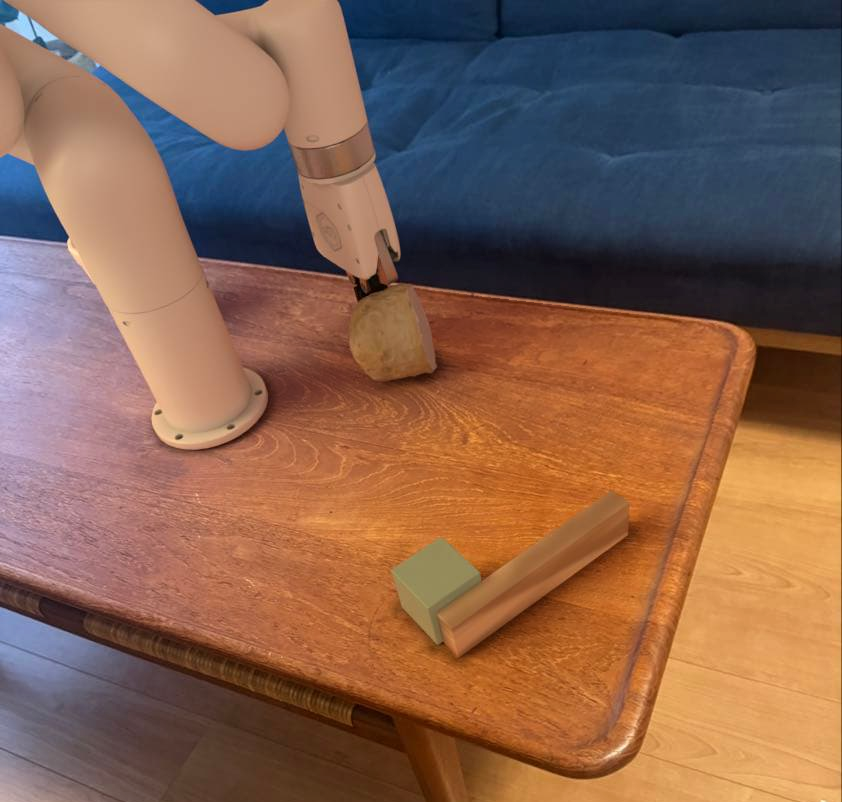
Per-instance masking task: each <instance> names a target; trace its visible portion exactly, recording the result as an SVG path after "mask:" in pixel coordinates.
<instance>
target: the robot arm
mask: <svg viewBox="0 0 842 802" xmlns="http://www.w3.org/2000/svg"><path fill="white" fill-rule="evenodd" d="M3 1H4V2H5V3H6V4H8V5H9V6H11V7H13V8H14V9H15V10H17V11H18V12H20V13H21V14H23V15H25V16H26V17H27V18H29V19H31V20H32V21H34V22H35V23H36V24H38V25H39V26H40V27H41V28H43V29H44V30H46V31H47V32H48V33H50V34H51V35H53V36H54V37H55V38H56V39H58V40H60V41H61V42H63V43H64V44H66V45H68V46H69V47H71V48H73V49H74V50H76V51H77V52H79V53H80V54H82V55H84V56H86V57H87V58H88V59H90V60H92V61H93V62H94V63H96V64H98V65H99V66H100V67H102V68H103V69H105V70H106V71H107V72H109V73H111V74H112V75H113V76H115V77H116V78H118V79H119V80H120V81H122V82H123V83H125V84H126V85H128V86H129V87H131V88H132V89H134V90H135V91H136V92H137V93H139V94H141V96H144V97H145V98H147V99H148V100H149V101H151V102H153V104H155V105H157V106H159V107H160V108H162V109H163V110H165V111H167V112H168V113H169V114H171V115H173V116H175V117H176V118H177V119H179V120H180V121H182V122H184V123H186V124H187V125H188V126H190V127H191V128H193V129H195V130H196V131H198V133H201V134H202V135H204V136H206V137H207V138H209V139H211V141H214V142H216V143H217V144H220V145H221V146H223V147H226V148H229V149H232V150H237V151H255V150H258V149H259V150H260V149H261V148H264V147H266V146H268V145H269V144H271V143H272V142H273V141H275V139H277V138H278V137H279V136H280V134H281V132H282V131H283V130H284V133H285V136H286V139H287V143H288V146H289V149H290V152H291V156H292V159H293V162H294V165H295V169H296V171H297V174H298V175H297V176H298V182H299V188H300V192H301V198H302V201H303V206H304V210H305V215H306V217H307V221H308V224H309V228H310V232H311V237H312V238H313V239H312V240H313V242H314V245H315V248H316V250H317V251H318V253H319V254H320V255H321V256H322V257H324V258H326V259H327V260H329V261H330V262H331V263H333V264H335V265H336V266H338V267H339V268H341V269H343V270H344V271H345V273H346V275H347V278H348V281H349V282H350V283H351V285H352V286H353V288H352V289H353V291H354V295H355V298H356V301H357V303H358V302H359V301H360V300H362V299H363V298H364V297H367V296H369V295H370V294H372V293H375V292H380V291H383V290H385V289H387V288H389V286H391V284H393V283H395V282H397V281H398V280H399V276H398V273H397V270H396V267H395V265H394V262H397V263H398V262H399V261H400V259H401V246H400V239H399V236H398V231H397V228H396V224H395V219H394V216H393V213H392V210H391V206H390V202H389V200H388V196H387V193H386V191H385V187H384V184H383V182H382V181H383V180H382V178H381V176H380V173H379V170H378V168H377V165H376V163H375V160H376V157H377V155H376V150H375V146H374V142H373V137H372V133H371V129H370V124H369V120H368V116H367V111H366V107H365V103H364V99H363V94H362V91H361V90H362V89H361V86H360V82H359V81H360V80H359V78H358V77H359V76H358V73H357V68H356V65H355V59H354V56H353V52H352V47H351V44H350V39H349V34H348V31H347V27H346V22H345V18H344V15H343V10H342V7H341V5H340V3H339V0H267V1H265V2H264V3H263V4H262V5H260V6H256V7H252V8H248V9H243V10H239V11H234V12H227V13H223V14H216V15H215V14H214V13H213V12H211V11H210V10H209V9H207V7H205V6H204V5H202V4H201V3H200V2H199V1H197V0H3ZM7 154H8V155H10V156H12V157H14V158H17V159H18V160H21V161H23V162H26V163H28V164H29V165H32V166H34V167H35V170H36V172H37V176H38V178H39V180H40V183H41V185H42V187H43V190H44V192H45V193H46V197H47V199H48V201H49V203H50V205H51V206H52V209H53V211H54V213H55V214H56V217H57V218H58V220H59V222H60V224H61V226H62V227H63V229H64V231H65V232H66V234H67V236H68V238H69V237H70V239H71V241H72V243H73V245H74V246H75V248H76V250H77V252H78V254H79V255H80V257H81V259H82V261H83V263H84V265H85V266H86V268H87V270H88V272H89V274H90V276H91V278H92V280H93V282H94V283H93V282H92V283H93V285H94V286H95V287H96V290H97V291H98V293H99V295H100V297H101V300H102V301H103V302H104V305H105V306H106V307H107V309H108V311H109V312H110V315H111V317H112V318H113V319H112V320H113V321H114V322H115V324H116V326H117V328H118V330H119V332H120V334H121V336H122V337H123V340H124V342H125V344H126V346H127V347H128V349H129V351H130V353H131V355H132V357H133V359H134V361H135V363H136V365H137V367H138V369H139V371H140V372H141V374H142V376H143V378H144V380H145V382H146V384H147V385H148V387H149V390H150V391H151V393H152V396H153V397H154V399H155V401H156V403H155V404H154V407H153V409H152V412H151V424H152V428H153V430H154V432H155V433H156V435H157V437H158V438H159V439H160V441H162V442H163V443H165V444H166V445H168V446H170V447H172V448H176V449H181V450H192V451H195V450H204V449H209V448H214V447H217V446H221V445H223V444H225V443H229V442H230V441H232V440H234V439H236V438H238V437H241V436H242V435H243V434H244V433H246V432H247V431H249V430H250V429H251V428H252V427H253V426H254V425H255V424H256V423H257V422H258V421H259V420H260V418H261V417H262V416H263V414H264V412H265V411H266V408H267V405H268V401H269V392H268V389H267V386H266V383H265V381H264V379H263V378H262V377H261V376H260V375H259V374H258V373H257V372H256V371H253V370H252V369H249V368H247V367H243V365H242V363H241V360H240V357H239V355H238V352H237V350H236V347H235V345H234V342H233V341H232V338H231V336H230V333H229V331H228V328H227V326H226V323H225V320H224V318H223V315H222V313H221V311H220V308H219V306H218V302H217V301H216V298H215V296H214V293H213V291H212V288H211V286H210V283H209V281H208V278H207V275H206V273H205V270H204V269H203V265H202V264H201V262H200V259H199V257H198V254H197V252H196V249H195V246H194V244H193V242H192V240H191V236H190V234H189V232H188V229H187V227H186V223H185V221H184V219H183V216H182V213H181V210H180V206H179V204H178V200H177V198H176V197H177V196H176V194H175V192H174V188H173V185H172V183H171V179H170V177H169V174H168V171H167V168H166V167H165V164H164V161H163V159H162V157H161V155H160V154H159V151H158V148H157V147H156V146H155V143H154V142H153V140H152V139H151V137H150V135H149V134H148V132H147V131H146V130H145V128H144V127H143V125H142V124H141V123H140V121H139V120H138V118H137V117H136V116H135V114H134V113H133V111H131V109H130V108H129V105H128V104H126V103H125V101H124V100H123V99H122V97H121V96H120V95H119V94H118V93H117V92H116V91H115V90H114V89H113V88H112V87H111V86H110V85H109V84H107V83H105V82H104V81H103V80H102V79H100V78H99V77H97V76H95V75H94V74H93V73H90V72H89V71H87V70H85V69H84V68H82V67H80V66H78V65H76V64H74V63H72V62H71V61H69V60H67V59H65V58H63V56H60V55H58V54H56V53H54V52H52V51H51V50H49V49H47V48H45V47H43V46H41V45H39V44H38V43H36V42H34V41H32V40H31V39H29V38H27V37H25V36H23V35H22V34H20V33H18V32H16V31H15V30H13V29H11V28H9V27H7V26H6V25H4V24H2V23H0V159H1V158H2V157H4V156H6V155H7ZM92 280H91V281H92Z"/></svg>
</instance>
